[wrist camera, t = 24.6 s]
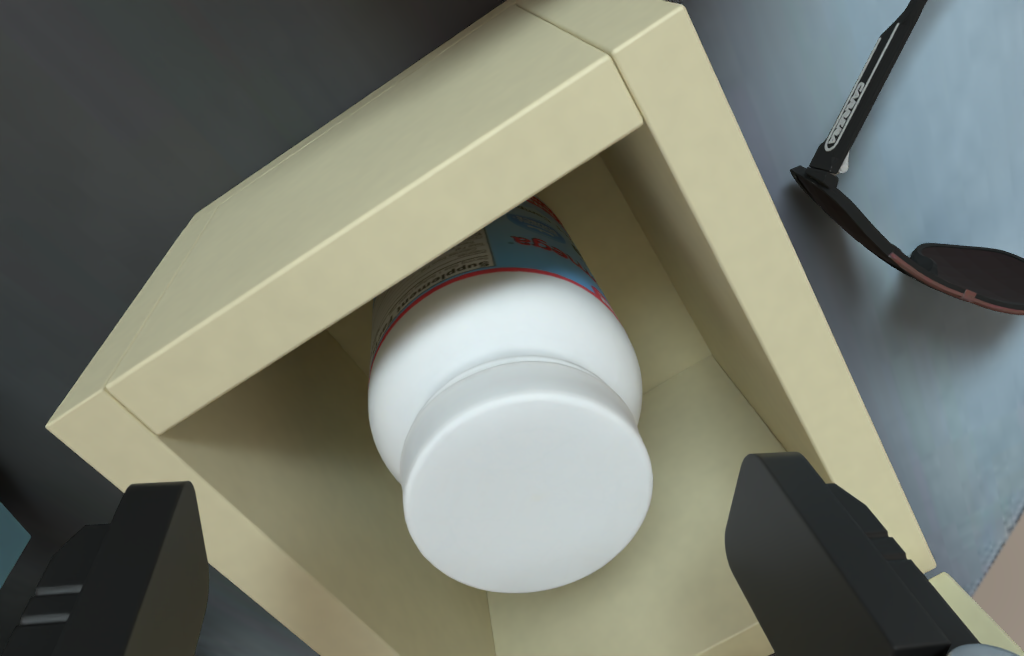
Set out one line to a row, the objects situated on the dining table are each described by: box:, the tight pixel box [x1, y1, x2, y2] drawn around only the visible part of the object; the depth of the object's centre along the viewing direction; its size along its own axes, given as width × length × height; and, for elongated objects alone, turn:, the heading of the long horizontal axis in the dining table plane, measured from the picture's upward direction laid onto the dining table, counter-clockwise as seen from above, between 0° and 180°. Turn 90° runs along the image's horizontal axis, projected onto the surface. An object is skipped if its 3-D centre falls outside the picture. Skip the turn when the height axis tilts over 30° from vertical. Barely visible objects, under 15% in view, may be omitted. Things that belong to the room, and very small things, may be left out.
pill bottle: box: [368, 195, 653, 593], centre depth 19 cm, size 6×6×11 cm
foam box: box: [45, 0, 936, 656], centre depth 20 cm, size 15×13×11 cm
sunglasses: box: [790, 0, 1024, 315], centre depth 23 cm, size 10×12×5 cm
